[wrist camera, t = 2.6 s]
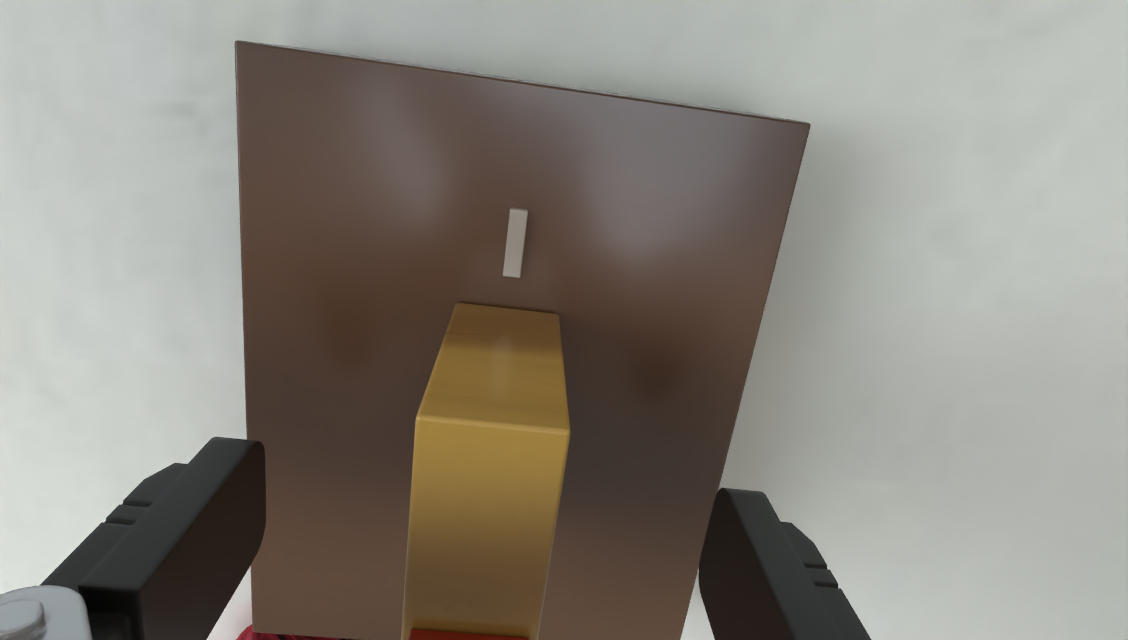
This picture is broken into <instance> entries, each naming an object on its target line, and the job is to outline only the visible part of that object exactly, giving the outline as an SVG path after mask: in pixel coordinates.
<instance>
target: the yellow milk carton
mask: <svg viewBox="0 0 1128 640" xmlns="http://www.w3.org/2000/svg"><path fill="white" fill-rule="evenodd" d="M570 434H571V433H570V423H569V412H568V402H567V392H566V382H565V372H564V361H563V351H562V341H561V331H560V321H559V315H557V314H552V313H544V312H535V311H526V310H517V309H509V308H500V307H491V306H483V305H474V304H465V303H456V305H455V307H454V310H453V313H452V316H451V319H450V322H449V325H448V327H447V330H446V333H445V336H444V339H443V342H442V345H441V347H440V350H439V353H438V356H437V359H436V362H435V365H434V367H433V370H432V373H431V376H430V379H429V382H428V385H427V387H426V390H425V393H424V396H423V399H422V402H421V405H420V408H419V410H418V413H417V416H416V422H415V437H414V452H413V466H412V481H411V496H410V511H409V526H408V540H407V555H406V570H405V585H404V600H403V614H402V629H401V640H538V636H539V629H540V623H541V617H542V610H543V604H544V598H545V592H546V585H547V579H548V573H549V566H550V560H551V554H552V548H553V541H554V535H555V529H556V522H557V516H558V510H559V503H560V497H561V491H562V485H563V478H564V472H565V466H566V459H567V453H568V447H569V440H570Z"/></svg>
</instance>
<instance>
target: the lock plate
mask: <svg viewBox="0 0 1128 640" xmlns="http://www.w3.org/2000/svg"><path fill="white" fill-rule="evenodd" d="M235 70H236V103H237V135H238V168H239V200H240V233H241V265H242V298H243V330H244V363H245V395H246V428H247V440H253V441H261V442H262V443H263V445H264V448H265V470H266V525H265V531H264V536H263V540H262V543H261V546H260V548H259V551H258V553H257V555H256V557H255V558H254V560H253V562H252V564H251V590H252V623H253V632H259V633H273V634H288V635H302V636H316V637H330V638H344V639H358V640H401V629H402V614H403V600H404V585H405V570H406V555H407V540H408V526H409V511H410V496H411V481H412V466H413V452H414V437H415V422H416V416H417V413H418V410H419V408H420V405H421V402H422V399H423V396H424V393H425V390H426V387H427V385H428V382H429V379H430V376H431V373H432V370H433V367H434V365H435V362H436V359H437V356H438V353H439V350H440V347H441V345H442V342H443V339H444V336H445V333H446V330H447V327H448V325H449V322H450V319H451V316H452V313H453V310H454V307H455V305H456V303H465V304H474V305H483V306H491V307H500V308H509V309H517V310H526V311H535V312H544V313H552V314H557V315H559V321H560V331H561V341H562V351H563V361H564V372H565V382H566V392H567V402H568V412H569V423H570V433H571V434H570V440H569V447H568V453H567V459H566V466H565V472H564V478H563V485H562V491H561V497H560V503H559V510H558V516H557V522H556V529H555V535H554V541H553V548H552V554H551V560H550V566H549V573H548V579H547V585H546V592H545V598H544V604H543V610H542V617H541V623H540V629H539V636H538V640H680V638H681V634H682V631H683V627H684V623H685V619H686V615H687V611H688V607H689V603H690V599H691V595H692V591H693V587H694V583H695V579H696V575H697V571H698V567H699V561H700V556H701V552H702V548H703V544H704V540H705V536H706V532H707V528H708V524H709V520H710V516H711V512H712V508H713V504H714V500H715V497H716V494H717V492H718V489H719V485H720V481H721V477H722V473H723V469H724V465H725V461H726V457H727V453H728V449H729V445H730V441H731V437H732V433H733V429H734V425H735V421H736V418H737V414H738V410H739V406H740V402H741V398H742V394H743V390H744V386H745V382H746V378H747V374H748V370H749V366H750V362H751V358H752V354H753V350H754V347H755V343H756V339H757V335H758V331H759V327H760V323H761V319H762V315H763V311H764V307H765V303H766V299H767V295H768V291H769V287H770V283H771V279H772V276H773V272H774V268H775V264H776V260H777V256H778V252H779V248H780V244H781V240H782V236H783V232H784V228H785V224H786V220H787V216H788V212H789V208H790V205H791V201H792V197H793V193H794V189H795V185H796V181H797V177H798V173H799V169H800V165H801V161H802V157H803V153H804V149H805V145H806V141H807V137H808V134H809V130H810V124H809V123H807V122H801V121H795V120H790V119H784V118H778V117H772V116H766V115H760V114H753V113H747V112H740V111H733V110H726V109H719V108H712V107H705V106H698V105H691V104H684V103H677V102H670V101H663V100H657V99H650V98H643V97H636V96H629V95H622V94H615V93H608V92H601V91H594V90H587V89H580V88H574V87H567V86H560V85H553V84H546V83H539V82H532V81H525V80H518V79H511V78H504V77H497V76H490V75H484V74H477V73H470V72H463V71H456V70H449V69H442V68H435V67H428V66H421V65H414V64H407V63H400V62H394V61H387V60H380V59H373V58H366V57H359V56H352V55H345V54H338V53H331V52H324V51H317V50H311V49H304V48H297V47H289V46H281V45H272V44H264V43H255V42H247V41H239V40H238V41H235Z"/></svg>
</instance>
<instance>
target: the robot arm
mask: <svg viewBox="0 0 1128 640" xmlns="http://www.w3.org/2000/svg"><path fill="white" fill-rule="evenodd" d="M265 525H266V470H265V448H264V445H263V443H262V442H261V441H253V440H243V439H233V438H223V437H214V438H212V439H211V440H210V441H209V442H208V443H207V444H206V445H205V446H204V447H203V448H202V449H201V450H200V451H199V452H198V454H197V455H196V456H195V457H194V458H193V459H192V460H191V461H190V462H189V463H188V464H180V463H174V464H172V465H170V466H168V467H166V468H165V469H163V470H161V471H159V472H157V473H155V474H153V475H152V476H150V477H148V478H146V479H144V480H143V481H142V482H141V483H140V484H139V485H138V486H137V487H136V488H135V489H134V490H133V491H132V492H131V493H130V494H129V495H128V496H127V497H126V498H125V499H124V500H123V504H122V505H119V506H118V507H117V508H116V509H115V510H114V511H113V512H112V513H111V514H110V515H109V516H108V517H107V518H106V521H105V523H101V524H100V525H99V526H98V527H97V528H96V529H95V530H94V531H93V532H92V533H91V534H90V535H89V536H88V537H87V538H86V539H85V540H84V541H83V542H82V543H81V544H80V545H79V546H78V547H77V548H76V549H75V550H74V551H73V552H72V553H71V554H70V555H69V556H68V557H67V558H66V559H65V560H64V561H63V562H62V563H61V564H60V565H59V566H58V567H57V568H56V569H55V570H54V571H53V572H52V573H51V574H50V575H49V576H48V577H47V578H46V579H45V580H44V581H43V583H42V584H41V585H40V586H32V587H26V588H21V589H17V590H13V591H10V592H7V593H4V594H1V595H0V640H206V639H207V638H208V636H209V634H210V633H211V631H212V629H213V627H214V626H215V624H216V622H217V621H218V619H219V617H220V616H221V614H222V612H223V611H224V609H225V607H226V606H227V604H228V602H229V601H230V599H231V597H232V595H233V594H234V592H235V590H236V589H237V587H238V585H239V584H240V582H241V580H242V579H243V577H244V575H245V574H246V572H247V570H248V569H249V567H250V565H251V564H252V562H253V560H254V558H255V557H256V555H257V553H258V551H259V548H260V546H261V543H262V540H263V536H264V531H265ZM699 587H700V593H701V597H702V600H703V603H704V606H705V609H706V612H707V616H708V619H709V622H710V625H711V628H712V632H713V635H714V638H715V640H871V638H870V637H869V635H868V633H867V632H866V630H865V628H864V627H863V625H862V623H861V622H860V620H859V618H858V617H857V615H856V613H855V612H854V610H853V608H852V606H851V605H850V603H849V601H848V600H847V598H846V596H845V595H844V593H843V591H842V590H841V589H838V583H837V581H836V579H835V578H834V576H833V574H832V573H831V571H830V570H827V564H826V563H825V561H824V559H823V558H822V556H821V554H820V552H819V551H818V549H817V547H816V546H815V544H814V543H813V542H812V541H811V540H810V539H809V538H808V537H807V536H805V535H804V534H803V533H802V532H801V531H800V530H799V529H798V528H797V527H795V526H794V525H793V524H792V523H788V522H780V520H779V518H778V516H777V515H776V513H775V511H774V509H773V507H772V505H771V504H770V502H769V500H768V498H767V496H766V495H765V494H764V493H763V492H759V491H749V490H739V489H729V488H721V489H719V491H718V492H717V494H716V497H715V500H714V504H713V508H712V512H711V516H710V520H709V524H708V528H707V532H706V536H705V540H704V544H703V548H702V552H701V556H700V561H699Z"/></svg>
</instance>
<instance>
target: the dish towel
mask: <svg viewBox="0 0 1128 640" xmlns="http://www.w3.org/2000/svg"><path fill="white" fill-rule="evenodd" d="M236 640H338V639H335V638H330V637H316V636H302V635H288V634H273V633H259V632H253V624H252V625H250V626H249V627H247V628H246V629H245V630H244V631H243V632H242V633H241V634H240V636H239V637H238V638H237V639H236Z"/></svg>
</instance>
